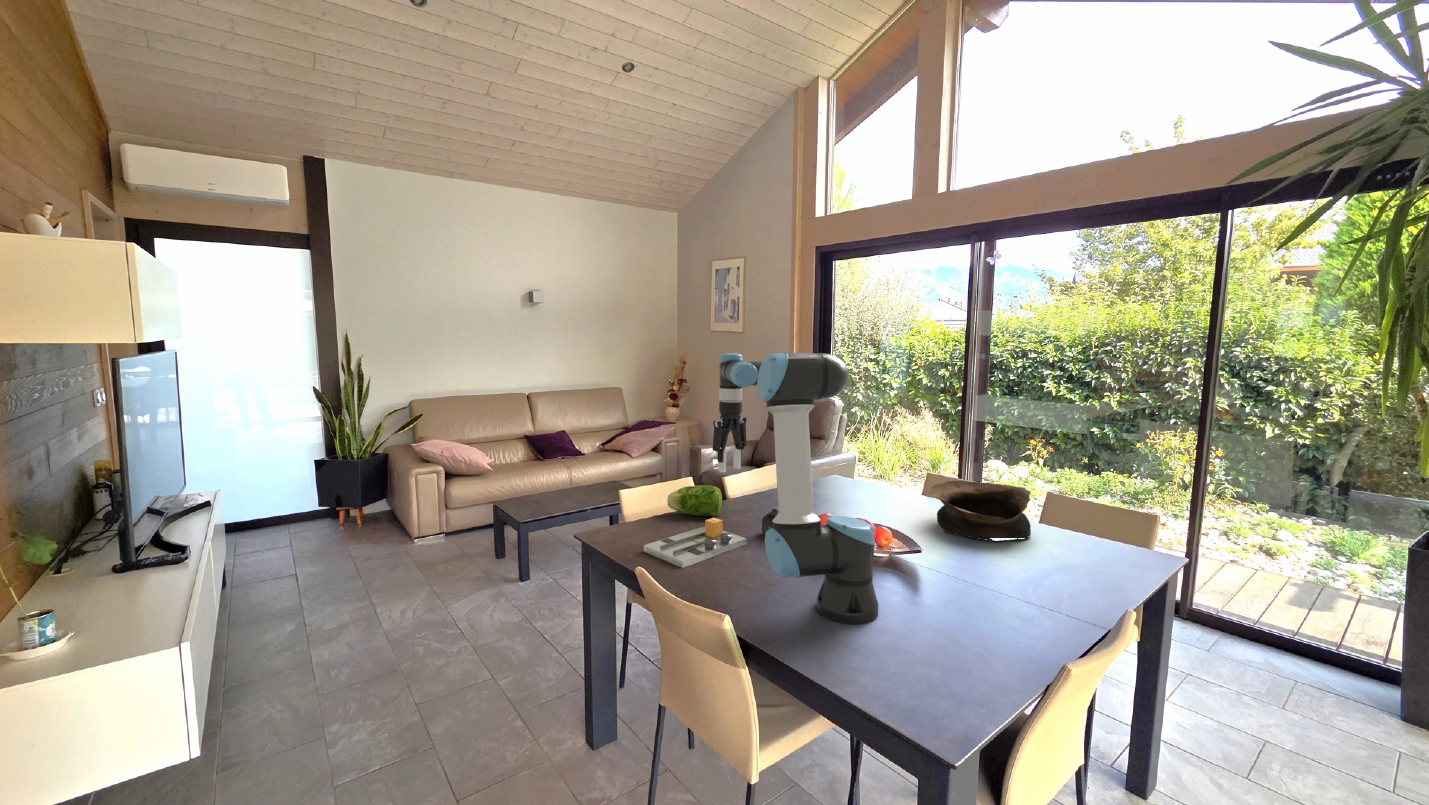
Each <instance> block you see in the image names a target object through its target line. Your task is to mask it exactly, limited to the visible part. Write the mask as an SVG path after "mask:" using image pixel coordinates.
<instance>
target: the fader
mask: <svg viewBox="0 0 1429 805" xmlns="http://www.w3.org/2000/svg"><path fill="white" fill-rule="evenodd" d="M723 521H724V520H723V519H719V518H717V517H712V518H709V519H705V521H704V522H705V523H704V524H705V525H704V526H705V535H707V536H709V537H712V538H714V537H717V536H720V535H721V533H723V531H724V530H723V529H724V528H723V527H724V525H723Z"/></svg>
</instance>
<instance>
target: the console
mask: <svg viewBox="0 0 1429 805" xmlns="http://www.w3.org/2000/svg"><path fill="white" fill-rule="evenodd" d="M747 540H748V539H747V538H745V537H743V536H740V535H737V534H735V533H732V532H728V531H726V530H723V533H721V535H720V536H717V537H714V538H712V537H709V536H707V535H705V525H704V526H701V527H698V528H695V529H692V530H687V531H685V532H682V533H678V534H675V535H672V536H669V537H666V538H663V539H659V540H657V541H653V542H649V543H646V544H643V552H644V553H646V554H648V555H651V556H653V557H655V558H657V559H661V560H663V561H665V562H667V563H670V564H672V565H674V566H676V567H679V568H682V569H684V568H686V567H689V566H692V565H695V564H697V563H700V562H703V561H706V560H708V559H710V558H714V557H716V556H719V555H722V554H724V553H727V552H730V551H733V550H735V549H738V548H741V547H744V546H746V545H747Z"/></svg>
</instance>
